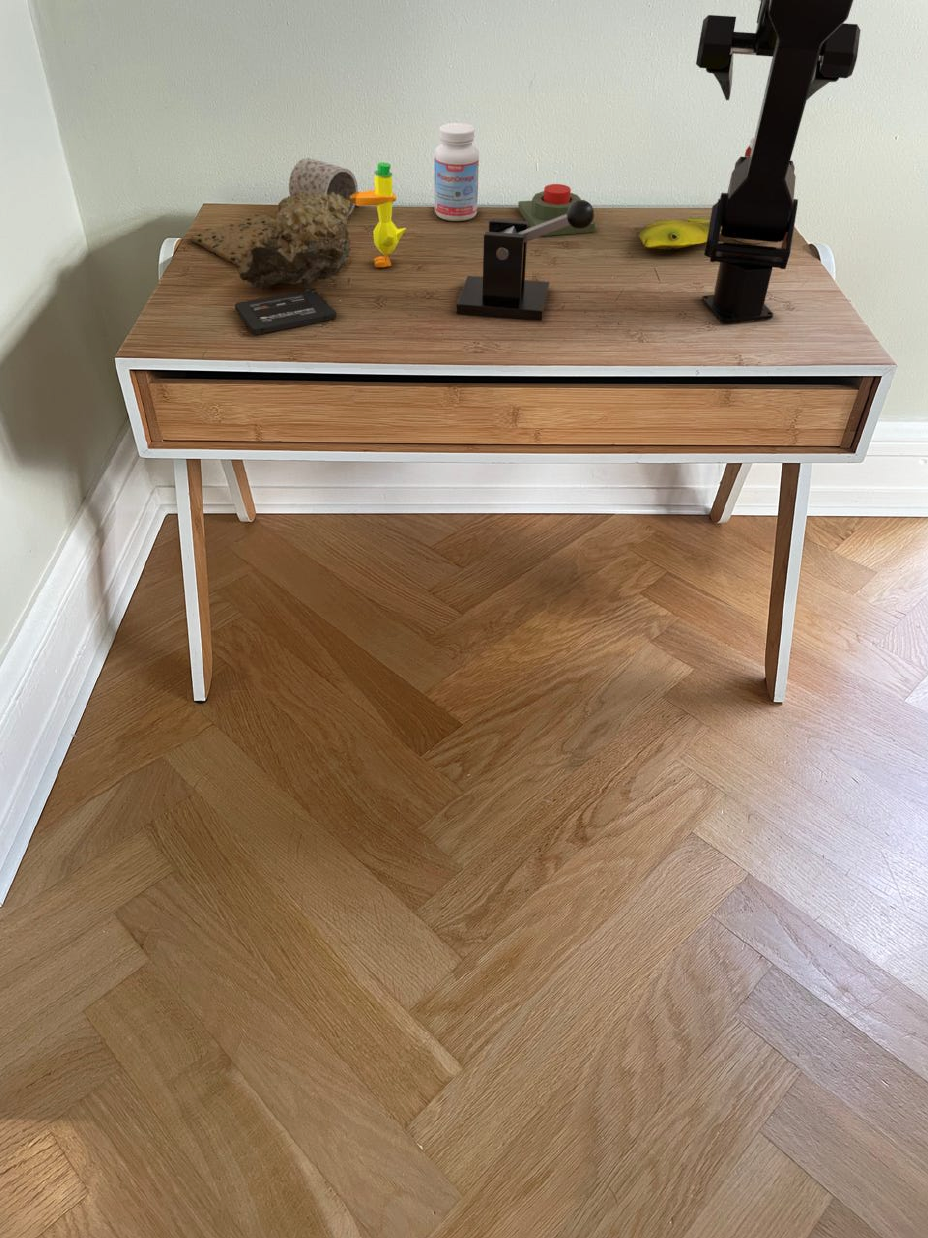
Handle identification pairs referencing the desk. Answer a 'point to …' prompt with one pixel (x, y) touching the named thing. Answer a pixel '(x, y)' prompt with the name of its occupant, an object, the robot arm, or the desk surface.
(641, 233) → the fish
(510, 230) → the lever
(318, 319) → the solid state drive
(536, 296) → the bracket
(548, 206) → the button block
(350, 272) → the desk surface
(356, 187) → the speckled mug
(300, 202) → the mineral specimen
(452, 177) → the pill bottle
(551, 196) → the button
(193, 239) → the cookie
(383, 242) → the toy figure
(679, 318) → the desk surface
